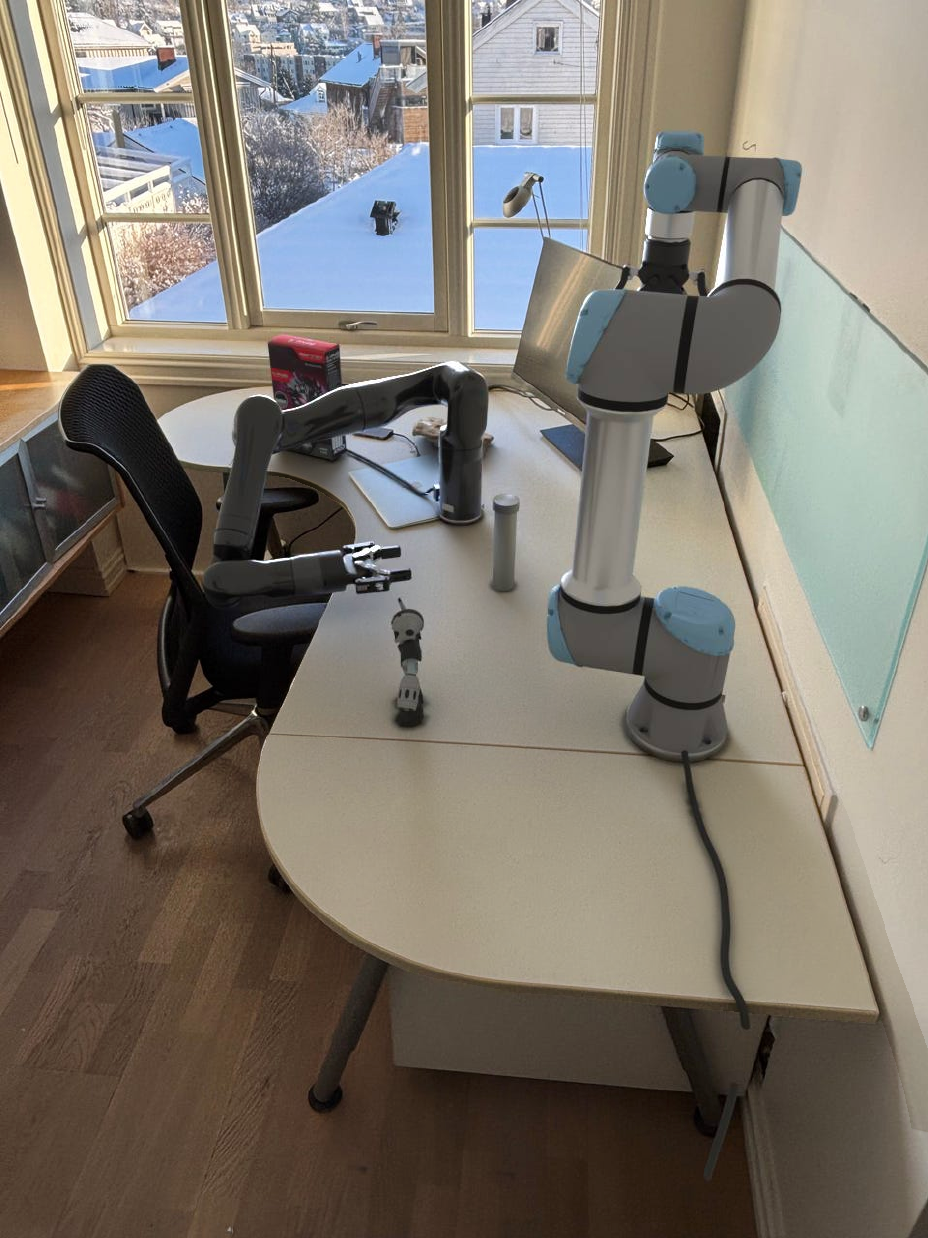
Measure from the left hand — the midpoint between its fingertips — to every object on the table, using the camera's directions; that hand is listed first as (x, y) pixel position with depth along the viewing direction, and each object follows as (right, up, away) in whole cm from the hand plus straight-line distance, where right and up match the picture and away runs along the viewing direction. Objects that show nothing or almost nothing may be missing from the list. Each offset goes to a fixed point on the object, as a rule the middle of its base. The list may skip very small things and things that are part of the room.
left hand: (405, 562), depth 169 cm
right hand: (+44, +35, -6) cm, 56 cm away
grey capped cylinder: (+18, -4, +9) cm, 21 cm away
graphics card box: (-27, +32, +62) cm, 74 cm away
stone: (+7, +33, +64) cm, 73 cm away
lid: (+18, +11, -1) cm, 22 cm away
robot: (+2, -25, -22) cm, 34 cm away
